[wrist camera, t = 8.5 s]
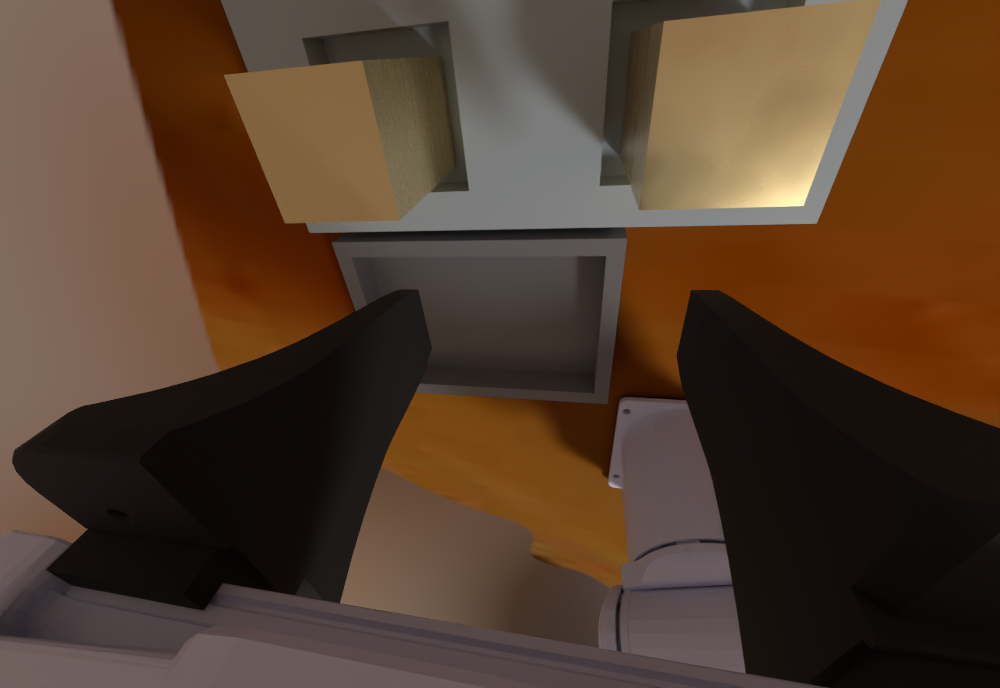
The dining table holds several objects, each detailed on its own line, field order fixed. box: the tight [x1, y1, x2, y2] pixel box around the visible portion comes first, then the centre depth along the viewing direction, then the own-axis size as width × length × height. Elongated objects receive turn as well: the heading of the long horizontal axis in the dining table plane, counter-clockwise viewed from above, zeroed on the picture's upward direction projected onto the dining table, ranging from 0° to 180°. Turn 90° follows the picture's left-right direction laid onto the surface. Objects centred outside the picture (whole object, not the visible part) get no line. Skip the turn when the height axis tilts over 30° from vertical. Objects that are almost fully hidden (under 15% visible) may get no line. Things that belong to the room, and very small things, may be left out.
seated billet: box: [620, 0, 881, 210], centre depth 12 cm, size 4×4×7 cm
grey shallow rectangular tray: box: [331, 227, 627, 404], centre depth 22 cm, size 10×14×2 cm
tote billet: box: [224, 56, 457, 223], centre depth 14 cm, size 4×4×7 cm
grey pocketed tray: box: [221, 0, 908, 233], centre depth 15 cm, size 9×22×2 cm, turn 95°
